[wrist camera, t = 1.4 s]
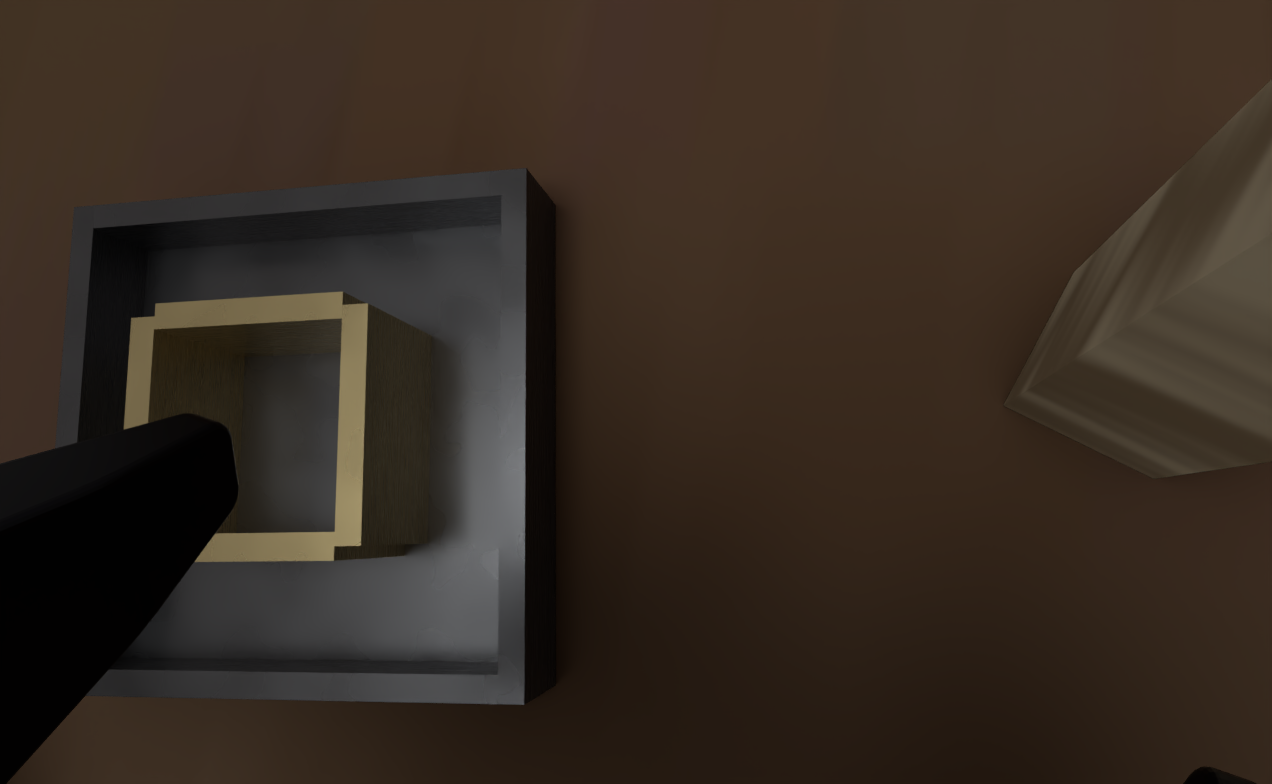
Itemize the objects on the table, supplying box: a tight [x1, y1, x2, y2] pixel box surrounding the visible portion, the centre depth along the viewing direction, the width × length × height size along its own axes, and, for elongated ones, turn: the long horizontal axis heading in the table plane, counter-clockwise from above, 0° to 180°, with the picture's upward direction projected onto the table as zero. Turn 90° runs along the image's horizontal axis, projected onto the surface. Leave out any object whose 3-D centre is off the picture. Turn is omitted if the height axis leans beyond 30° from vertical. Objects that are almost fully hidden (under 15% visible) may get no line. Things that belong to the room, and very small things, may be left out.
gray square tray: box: [55, 168, 556, 705], centre depth 22 cm, size 12×12×4 cm
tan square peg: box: [1003, 79, 1272, 479], centre depth 15 cm, size 4×4×13 cm
